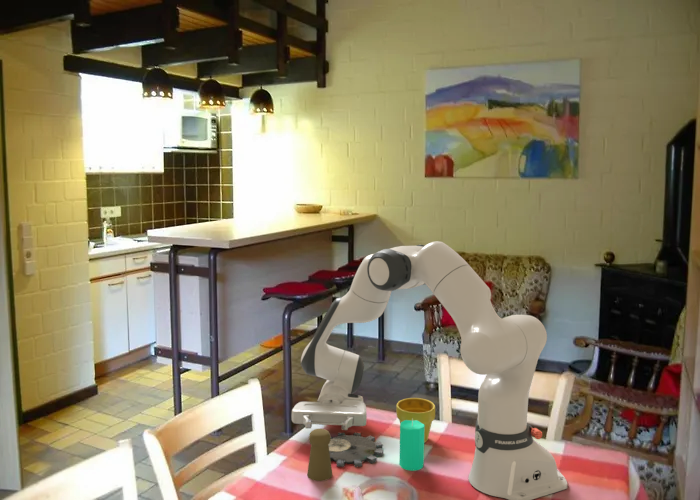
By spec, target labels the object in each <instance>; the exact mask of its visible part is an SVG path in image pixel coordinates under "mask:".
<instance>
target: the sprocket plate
mask: <svg viewBox="0 0 700 500" xmlns="http://www.w3.org/2000/svg"><path fill="white" fill-rule="evenodd" d="M328 445H329V453H330V460H331V462H334V463H336V467H340V468H345V466H346V465H353V467H354V468H359V467H360V468H361V467H363V463H365V462H368V463H370V464H372V465H373V464H374V463H376V462H377V461H378V457H383V455H384V448H383V447H384V445H383V443H382V442H381V441H376V438H375V436H373V435H368V436H365V437H364V436H362V434H361V432H354V433H353V434H351V435H350V434H348V435H347V434H346V433H345V432H338V433H337V436H334V437H333V436H331V440H330V443H329V444H328Z"/></svg>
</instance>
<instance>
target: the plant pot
mask: <svg viewBox="0 0 700 500" xmlns="http://www.w3.org/2000/svg"><path fill="white" fill-rule="evenodd" d="M395 406H396V409H395V411H396V418H397V419H398V421H399V425H400V424H401V422H403V421H404V420H410V421H412V418H413V421H414V420H418V421H419V422H421V423H422V424H424V425H425V427H424V444H425V443H426V442H427V441H428V439H429V435H430V432H431V428H432V422H433V421H434V420H435V418H436V405H435V404H434V402H432V401H431V400H429V399H425V398H420V397H408V398H407V397H406V398H403V399H401V400H398V402H397V403H396V405H395Z"/></svg>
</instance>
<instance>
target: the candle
mask: <svg viewBox="0 0 700 500" xmlns="http://www.w3.org/2000/svg"><path fill="white" fill-rule="evenodd" d="M424 427H425V425H424V424H422V423H421V422H419V421H418V420H414V421H413V418H412V421H410V420H404V421H403V422H401V424H400V423H399V464H398V465H399V466H400V468H402V469H403V470H406V471H413V472H414V471H420V470H421V469H423V468H424V464H425V463H424V461H425V443H424Z"/></svg>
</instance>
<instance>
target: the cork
mask: <svg viewBox="0 0 700 500" xmlns="http://www.w3.org/2000/svg"><path fill="white" fill-rule="evenodd" d="M331 437H332V436H331V433H330V431H329V430H327V429H325V428H315V429H312V430H311V431H310V433H309V436H308V442H309V444H310V451H309V458H308V459H309V460H308V466H307V475H306V476H307V478H308V479H309V480H312V481H315V482H324V481H327V480H329V479H331V478H332V476H333V469H332V461H331V460H330V453H329V445H328V444H329V443H330V440H331Z"/></svg>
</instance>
